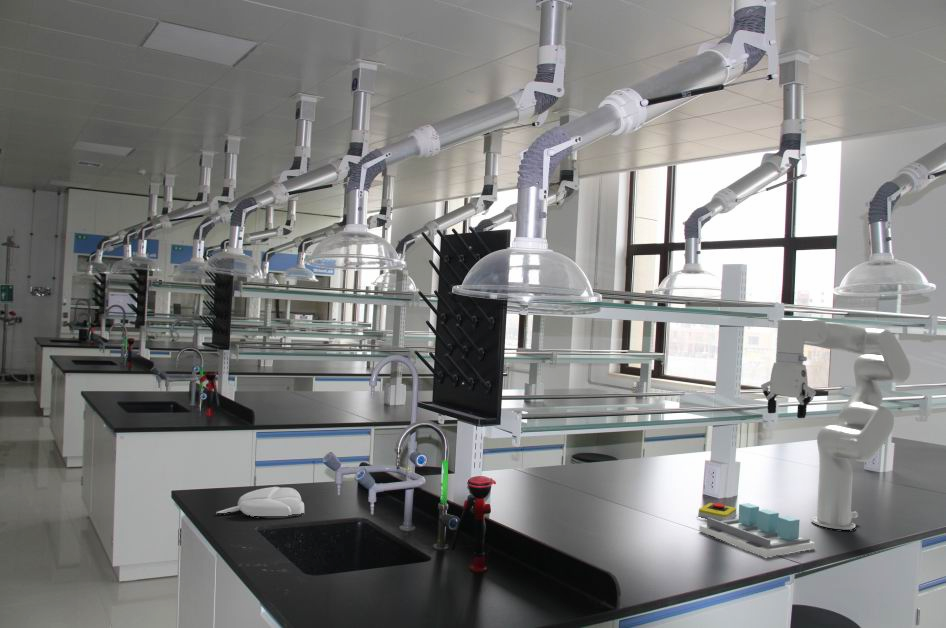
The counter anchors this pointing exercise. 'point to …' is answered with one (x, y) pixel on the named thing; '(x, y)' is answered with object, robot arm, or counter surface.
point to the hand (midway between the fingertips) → (786, 415)
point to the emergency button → (717, 512)
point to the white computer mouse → (269, 502)
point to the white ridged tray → (753, 538)
